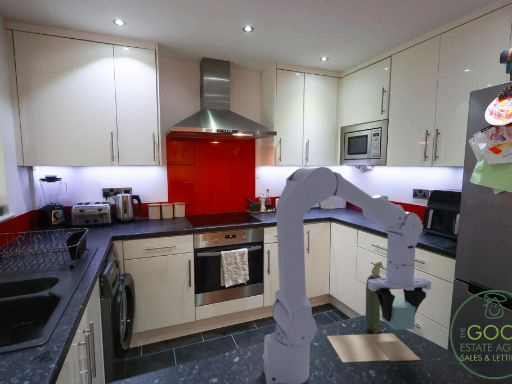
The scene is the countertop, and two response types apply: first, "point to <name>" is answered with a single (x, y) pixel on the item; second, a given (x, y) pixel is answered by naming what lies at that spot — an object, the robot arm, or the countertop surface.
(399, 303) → the teal block
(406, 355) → the maple board
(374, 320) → the vegetable
